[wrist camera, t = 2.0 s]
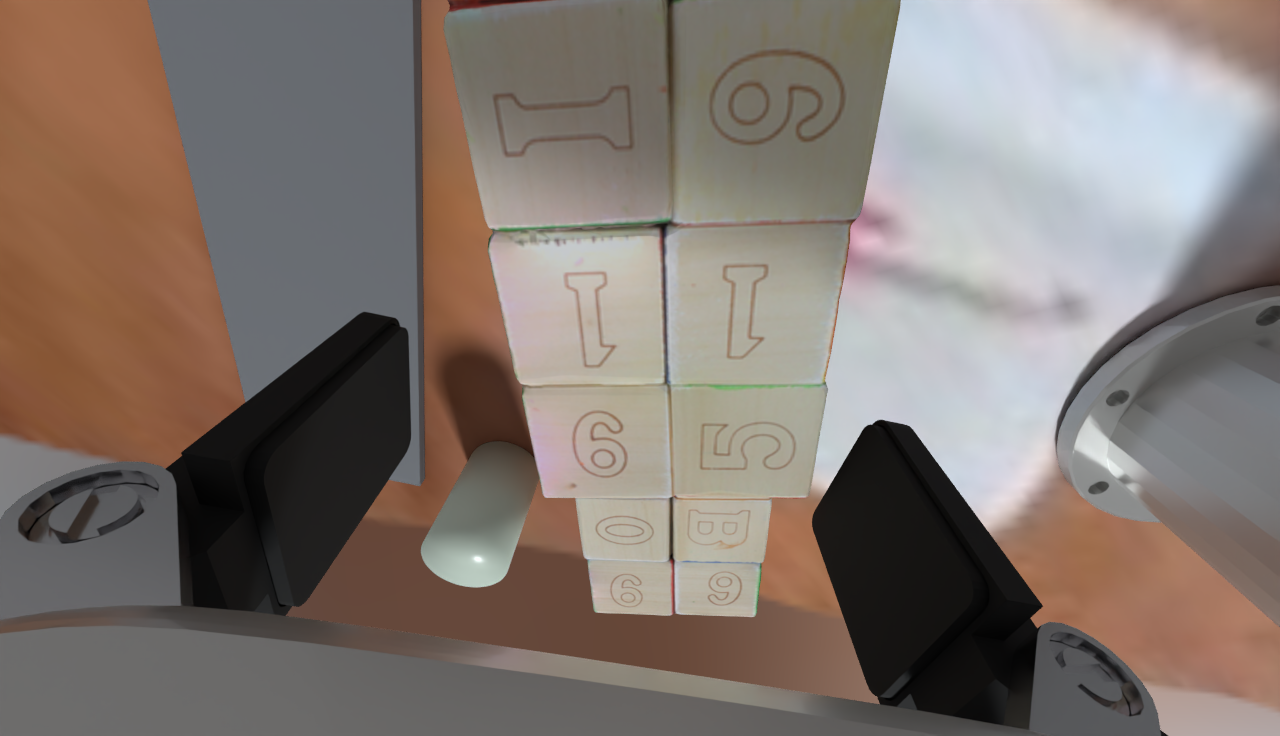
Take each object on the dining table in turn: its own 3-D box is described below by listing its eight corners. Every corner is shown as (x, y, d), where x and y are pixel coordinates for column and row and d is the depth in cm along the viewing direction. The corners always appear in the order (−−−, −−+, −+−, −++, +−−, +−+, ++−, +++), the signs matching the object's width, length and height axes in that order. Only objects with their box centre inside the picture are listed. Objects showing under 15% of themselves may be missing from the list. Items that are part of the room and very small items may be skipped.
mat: (420, -51, 16) (411, -56, 15) (424, 478, 28) (420, 485, 27) (133, -130, 15) (114, -137, 15) (265, 445, 27) (258, 452, 27)
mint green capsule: (543, 449, 26) (512, 539, 21) (535, 501, 28) (504, 593, 23) (470, 434, 26) (420, 521, 21) (468, 486, 28) (421, 577, 23)
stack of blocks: (730, 455, 26) (770, 714, 15) (614, 453, 26) (573, 704, 16) (772, -74, 15) (1016, -469, 4) (574, -62, 15) (353, -396, 5)
